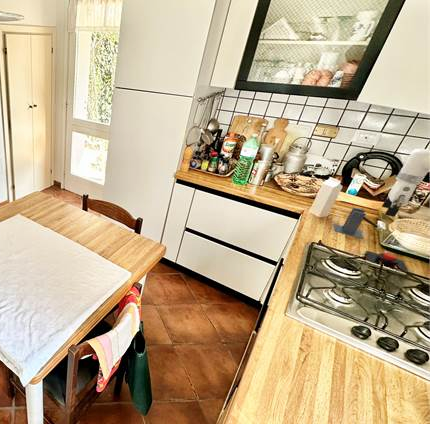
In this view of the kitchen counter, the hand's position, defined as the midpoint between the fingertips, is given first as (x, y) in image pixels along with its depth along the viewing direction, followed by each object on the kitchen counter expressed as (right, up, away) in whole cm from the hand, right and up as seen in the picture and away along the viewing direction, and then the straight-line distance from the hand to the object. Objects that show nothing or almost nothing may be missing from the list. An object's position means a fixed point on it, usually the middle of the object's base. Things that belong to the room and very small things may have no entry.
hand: (387, 211), depth 142 cm
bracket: (-7, -11, +12) cm, 18 cm away
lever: (-4, -5, +6) cm, 9 cm away
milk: (-9, -2, +28) cm, 29 cm away
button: (-13, -20, -12) cm, 27 cm away
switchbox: (-13, -23, -10) cm, 29 cm away
